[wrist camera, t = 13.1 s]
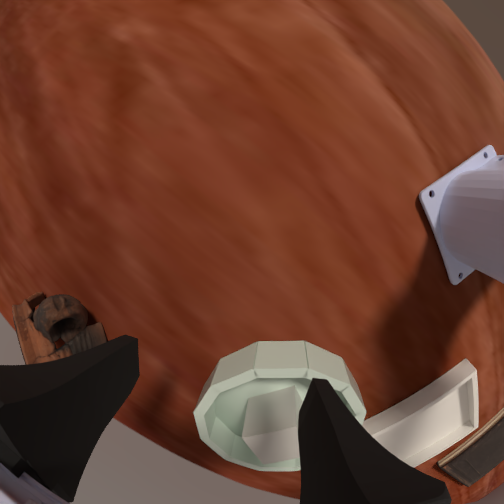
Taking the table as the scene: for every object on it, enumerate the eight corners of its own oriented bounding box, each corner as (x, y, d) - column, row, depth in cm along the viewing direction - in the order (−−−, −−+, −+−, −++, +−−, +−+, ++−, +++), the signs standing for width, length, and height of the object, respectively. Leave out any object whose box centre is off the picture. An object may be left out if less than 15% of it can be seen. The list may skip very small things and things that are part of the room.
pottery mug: (105, 384, 24) (40, 405, 17) (73, 313, 27) (13, 325, 20) (128, 331, 18) (25, 358, 11) (87, 240, 21) (4, 247, 15)
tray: (465, 358, 19) (476, 369, 16) (471, 416, 20) (478, 426, 18) (342, 430, 21) (345, 446, 19) (373, 471, 23) (376, 484, 21)
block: (309, 415, 20) (312, 454, 16) (266, 426, 21) (263, 464, 17) (294, 385, 20) (296, 426, 15) (248, 397, 20) (241, 438, 16)
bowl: (314, 311, 19) (321, 335, 16) (373, 412, 21) (382, 438, 17) (176, 377, 21) (163, 402, 18) (256, 456, 23) (253, 481, 20)
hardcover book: (519, 385, 19) (526, 393, 17) (524, 429, 21) (528, 435, 19) (435, 459, 23) (439, 470, 21) (463, 481, 25) (466, 488, 23)
